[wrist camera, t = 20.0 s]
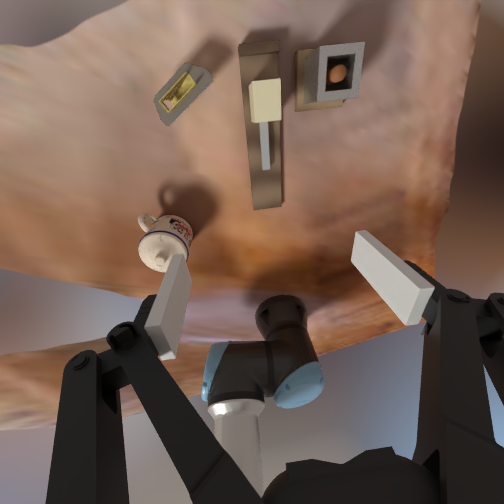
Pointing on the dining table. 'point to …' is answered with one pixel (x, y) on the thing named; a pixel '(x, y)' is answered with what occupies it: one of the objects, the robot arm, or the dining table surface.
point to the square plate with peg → (331, 77)
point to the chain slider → (265, 111)
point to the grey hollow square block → (335, 55)
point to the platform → (182, 91)
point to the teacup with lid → (163, 240)
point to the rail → (255, 69)
